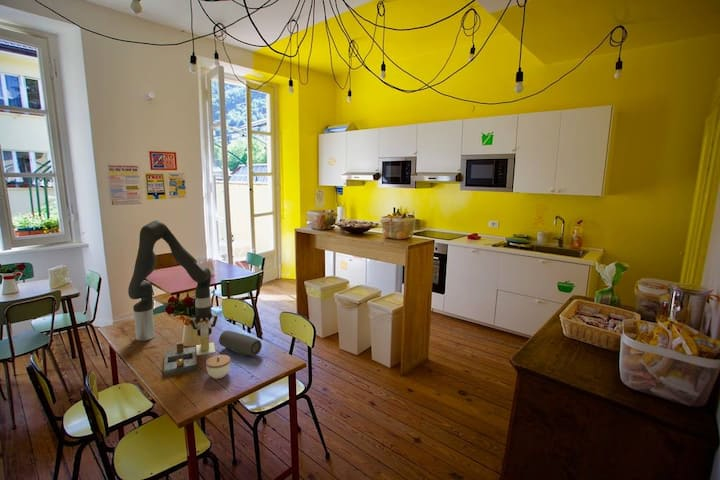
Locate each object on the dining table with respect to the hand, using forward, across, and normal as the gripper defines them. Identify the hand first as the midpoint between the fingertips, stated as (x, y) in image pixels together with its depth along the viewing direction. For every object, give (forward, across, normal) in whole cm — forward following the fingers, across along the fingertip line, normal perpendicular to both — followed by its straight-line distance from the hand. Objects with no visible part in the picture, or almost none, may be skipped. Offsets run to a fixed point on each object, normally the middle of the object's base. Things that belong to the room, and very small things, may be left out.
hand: (204, 334), depth 188 cm
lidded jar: (+8, +4, -30) cm, 32 cm away
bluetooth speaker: (+8, +17, -11) cm, 22 cm away
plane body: (+8, -12, -11) cm, 18 cm away
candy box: (+7, 0, 0) cm, 7 cm away
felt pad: (+8, 0, 0) cm, 8 cm away
